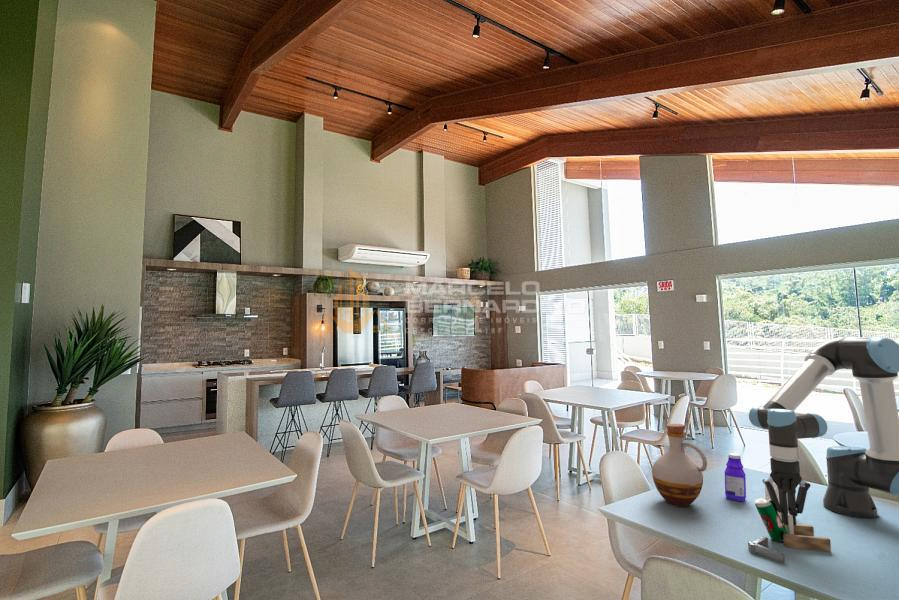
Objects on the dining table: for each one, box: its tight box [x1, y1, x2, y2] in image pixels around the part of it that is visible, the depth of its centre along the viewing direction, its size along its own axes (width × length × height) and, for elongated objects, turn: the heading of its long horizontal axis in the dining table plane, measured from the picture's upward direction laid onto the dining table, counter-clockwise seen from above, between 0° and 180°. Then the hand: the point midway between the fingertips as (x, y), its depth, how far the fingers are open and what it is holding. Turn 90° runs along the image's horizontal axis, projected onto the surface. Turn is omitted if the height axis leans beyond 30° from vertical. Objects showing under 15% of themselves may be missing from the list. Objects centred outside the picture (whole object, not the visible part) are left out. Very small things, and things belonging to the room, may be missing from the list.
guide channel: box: [782, 523, 832, 552], centre depth 143 cm, size 12×10×4 cm
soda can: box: [754, 496, 788, 542], centre depth 145 cm, size 5×5×12 cm
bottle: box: [724, 452, 747, 502], centre depth 181 cm, size 7×6×17 cm
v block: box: [747, 536, 786, 565], centre depth 136 cm, size 7×12×2 cm, turn 167°
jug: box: [651, 423, 708, 508], centre depth 176 cm, size 20×18×30 cm
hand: (789, 535), depth 144 cm, fingers closed
